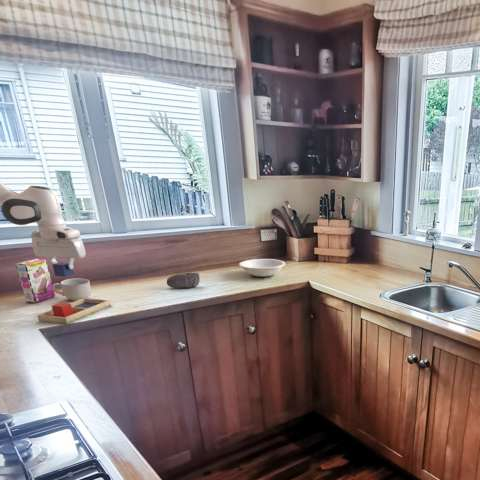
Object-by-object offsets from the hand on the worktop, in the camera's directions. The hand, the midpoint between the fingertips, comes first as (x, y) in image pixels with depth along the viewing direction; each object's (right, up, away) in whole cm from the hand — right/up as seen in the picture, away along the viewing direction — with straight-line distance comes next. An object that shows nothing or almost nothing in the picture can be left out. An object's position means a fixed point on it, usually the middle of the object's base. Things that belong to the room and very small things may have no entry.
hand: (64, 268), depth 182 cm
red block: (+1, -19, -2) cm, 19 cm away
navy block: (0, -2, +1) cm, 3 cm away
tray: (+3, -17, +4) cm, 18 cm away
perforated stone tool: (+30, 0, +42) cm, 52 cm away
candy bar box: (-23, -9, +19) cm, 31 cm away
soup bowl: (+62, +12, +69) cm, 93 cm away
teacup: (-9, -9, +21) cm, 24 cm away
